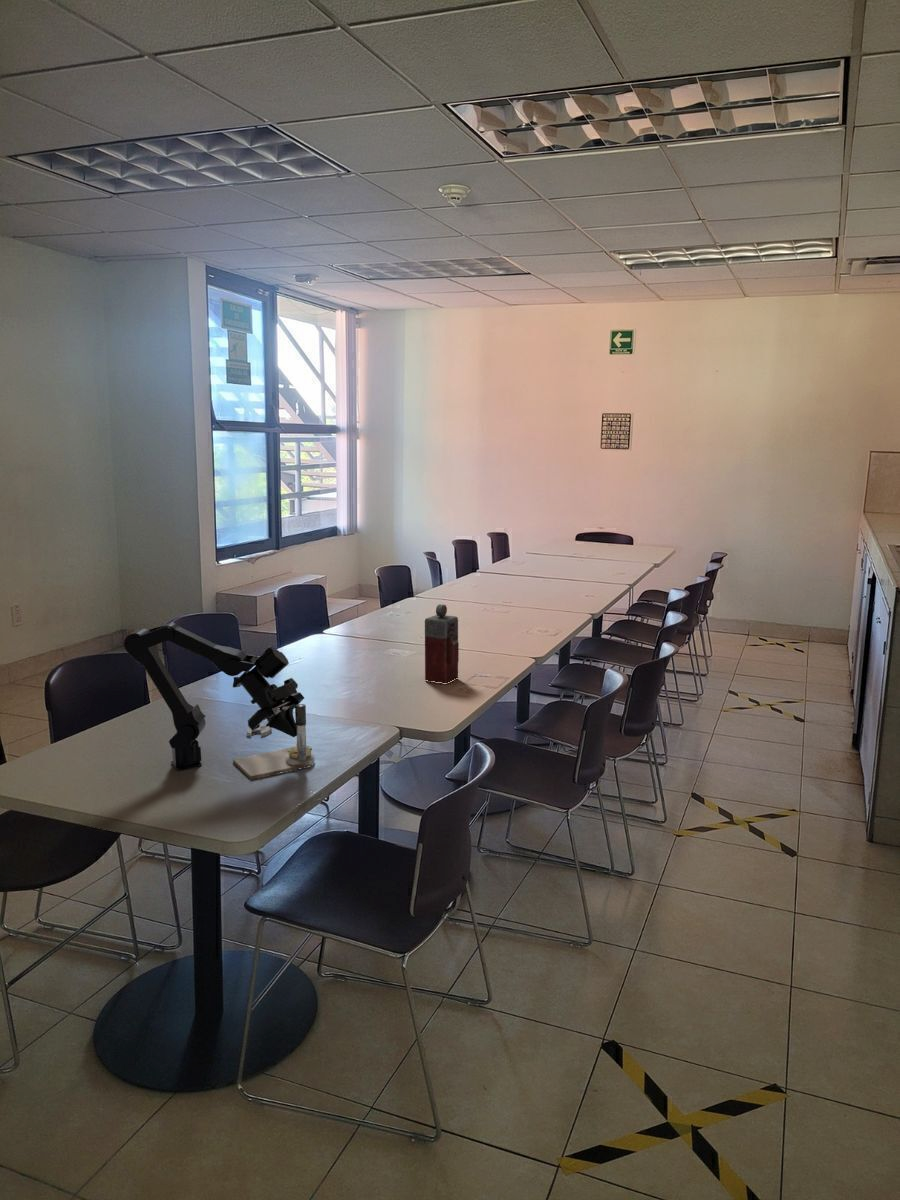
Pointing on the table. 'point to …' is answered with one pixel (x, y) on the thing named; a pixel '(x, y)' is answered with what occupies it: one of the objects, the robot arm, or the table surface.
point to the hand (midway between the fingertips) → (296, 735)
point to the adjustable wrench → (260, 730)
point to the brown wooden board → (270, 763)
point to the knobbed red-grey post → (441, 646)
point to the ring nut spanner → (300, 735)
